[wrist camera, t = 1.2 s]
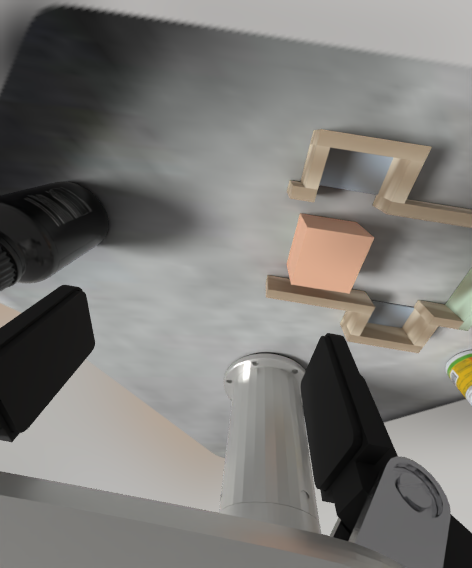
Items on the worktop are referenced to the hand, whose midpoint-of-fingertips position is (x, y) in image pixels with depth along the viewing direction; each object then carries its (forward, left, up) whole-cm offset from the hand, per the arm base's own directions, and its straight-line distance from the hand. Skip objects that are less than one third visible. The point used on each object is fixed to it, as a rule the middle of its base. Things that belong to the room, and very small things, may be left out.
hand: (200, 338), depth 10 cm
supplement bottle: (+5, +16, -17) cm, 24 cm away
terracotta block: (-5, -7, -17) cm, 19 cm away
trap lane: (-8, -12, -17) cm, 22 cm away
